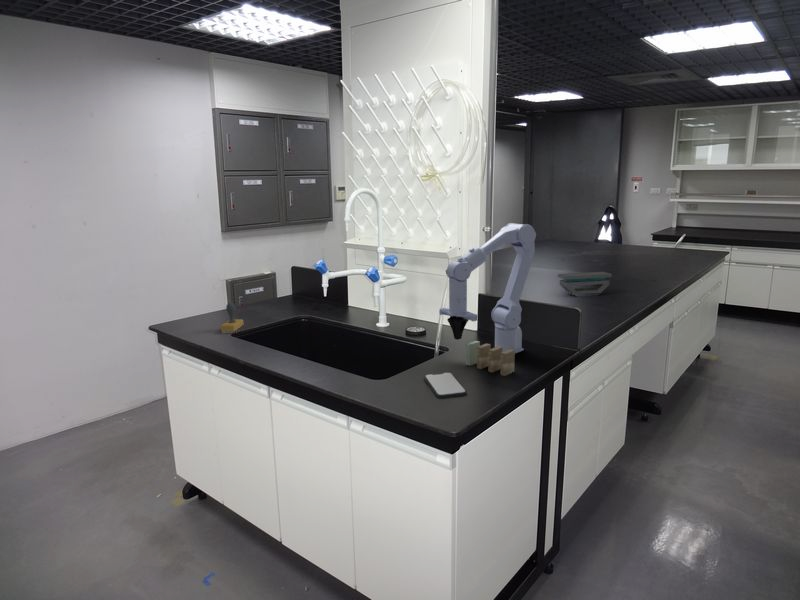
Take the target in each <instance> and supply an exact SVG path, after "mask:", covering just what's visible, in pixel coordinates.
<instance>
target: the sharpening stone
mask: <svg viewBox="0 0 800 600" xmlns="http://www.w3.org/2000/svg"><path fill="white" fill-rule="evenodd" d="M612 276H613V275H612V273H610V272H606V271H593V272H592V271H591V272H572V273H571V272H570V273H569V272H568V273H557V278H560V279H561V280H559V286H561V287H562V289H564V290H565V292H567V291H568V292H570V293H573V294H585V293H600V294H602V292H603V291H605V289H606V288H608V287H609V286H610V280H608V279H606V278H612ZM576 286H590V287H580V288H578V287H577V288H575V287H576ZM568 292H567V293H568Z"/></svg>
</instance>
